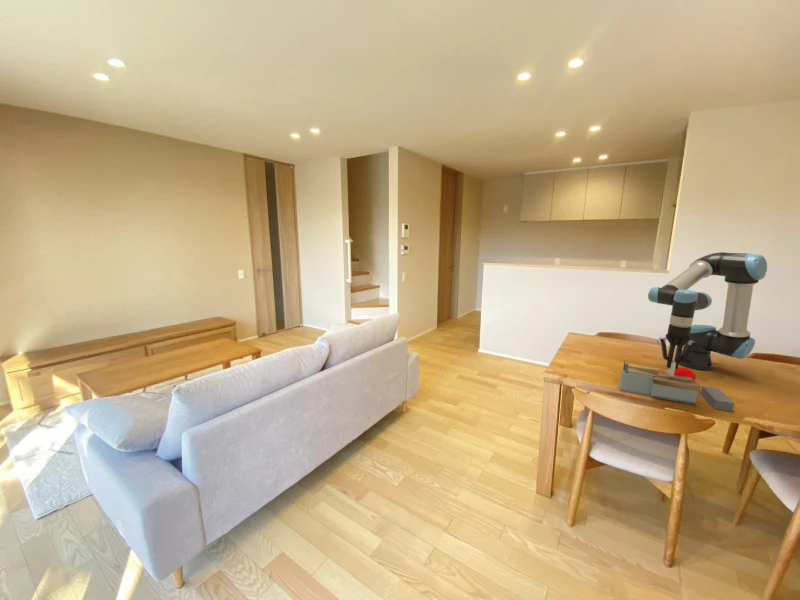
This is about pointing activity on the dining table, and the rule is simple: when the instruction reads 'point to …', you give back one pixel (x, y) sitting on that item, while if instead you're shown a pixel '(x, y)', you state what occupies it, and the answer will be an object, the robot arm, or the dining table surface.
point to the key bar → (643, 370)
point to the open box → (673, 393)
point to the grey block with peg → (635, 381)
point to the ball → (685, 373)
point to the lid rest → (717, 399)
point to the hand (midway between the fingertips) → (670, 374)
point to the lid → (676, 381)
